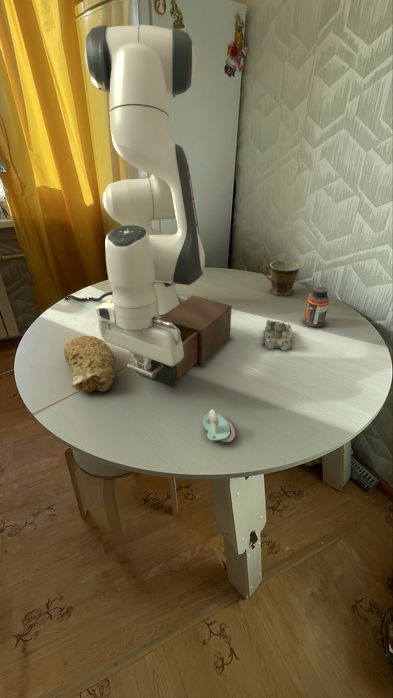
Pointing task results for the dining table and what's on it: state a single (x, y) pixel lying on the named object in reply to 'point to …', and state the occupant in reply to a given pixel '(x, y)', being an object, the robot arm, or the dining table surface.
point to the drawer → (172, 374)
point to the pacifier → (218, 427)
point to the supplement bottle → (317, 307)
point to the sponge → (90, 363)
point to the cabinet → (203, 323)
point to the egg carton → (277, 335)
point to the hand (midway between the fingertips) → (143, 367)
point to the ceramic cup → (282, 276)
